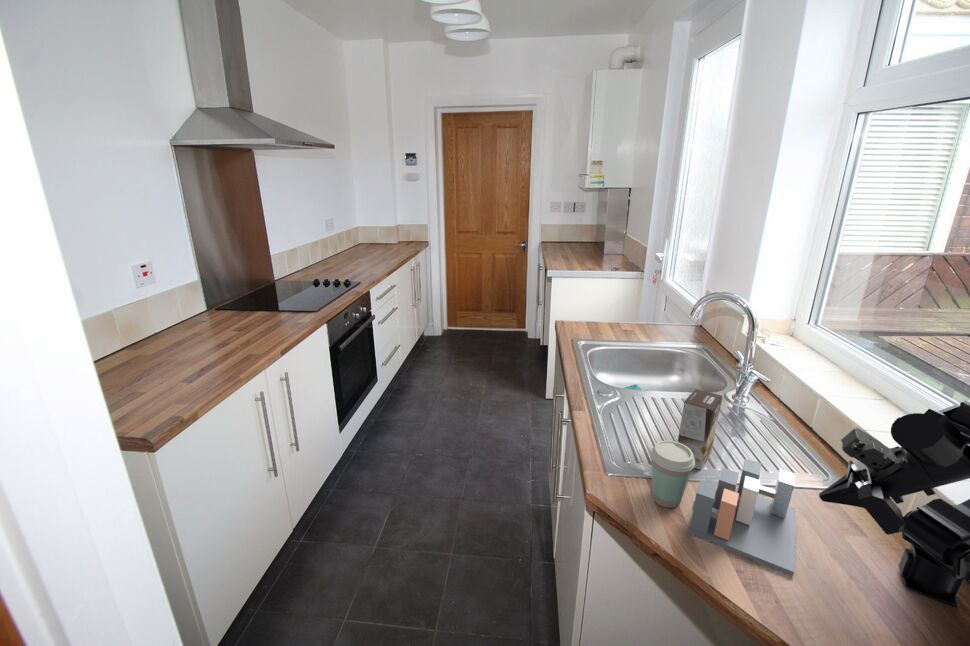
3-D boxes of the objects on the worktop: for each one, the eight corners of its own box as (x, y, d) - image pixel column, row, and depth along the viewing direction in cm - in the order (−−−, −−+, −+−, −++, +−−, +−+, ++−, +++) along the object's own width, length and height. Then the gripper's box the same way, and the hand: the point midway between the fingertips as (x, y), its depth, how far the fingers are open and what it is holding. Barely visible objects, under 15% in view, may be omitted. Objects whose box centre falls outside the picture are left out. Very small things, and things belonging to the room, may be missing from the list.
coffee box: (701, 471, 104) (713, 410, 99) (673, 460, 108) (683, 401, 103) (712, 452, 111) (723, 395, 106) (685, 443, 115) (694, 387, 110)
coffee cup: (688, 517, 91) (697, 467, 87) (644, 506, 94) (651, 458, 90) (686, 490, 98) (694, 443, 94) (645, 481, 101) (652, 435, 97)
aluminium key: (785, 506, 92) (794, 474, 89) (785, 518, 89) (794, 485, 86) (747, 493, 95) (754, 461, 93) (745, 504, 92) (752, 472, 90)
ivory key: (752, 513, 90) (760, 480, 87) (750, 525, 87) (758, 491, 84) (713, 499, 94) (720, 467, 91) (710, 511, 91) (717, 478, 88)
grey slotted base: (794, 512, 92) (805, 474, 89) (792, 576, 78) (805, 534, 74) (704, 481, 101) (711, 446, 98) (688, 534, 87) (695, 494, 83)
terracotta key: (731, 527, 86) (739, 493, 84) (728, 540, 83) (736, 506, 81) (692, 512, 90) (698, 479, 88) (688, 524, 87) (694, 491, 84)
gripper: (881, 399, 77) (790, 434, 86) (898, 453, 62) (787, 488, 72) (927, 453, 75) (830, 483, 85) (957, 522, 61) (835, 548, 70)
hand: (820, 497), depth 78 cm, fingers closed
